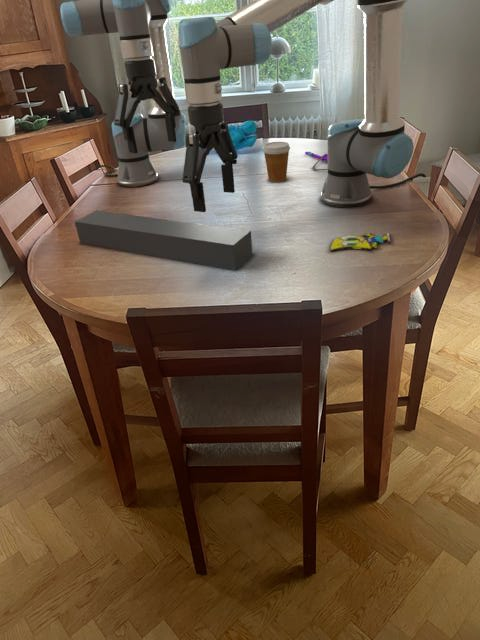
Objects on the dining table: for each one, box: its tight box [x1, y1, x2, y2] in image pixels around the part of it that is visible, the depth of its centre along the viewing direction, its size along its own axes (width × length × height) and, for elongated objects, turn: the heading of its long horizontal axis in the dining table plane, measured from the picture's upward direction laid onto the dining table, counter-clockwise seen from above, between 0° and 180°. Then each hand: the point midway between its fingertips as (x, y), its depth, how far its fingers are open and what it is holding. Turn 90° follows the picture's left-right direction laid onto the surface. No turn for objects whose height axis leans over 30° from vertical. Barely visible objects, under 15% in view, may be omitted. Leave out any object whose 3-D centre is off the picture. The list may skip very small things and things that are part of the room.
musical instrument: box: [304, 151, 328, 171], centre depth 185 cm, size 24×2×20 cm
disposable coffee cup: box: [262, 141, 291, 183], centre depth 169 cm, size 10×10×12 cm
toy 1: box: [199, 120, 258, 152], centre depth 209 cm, size 17×11×30 cm
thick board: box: [74, 209, 253, 271], centre depth 127 cm, size 51×9×7 cm, turn 62°
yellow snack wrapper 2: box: [330, 232, 391, 252], centre depth 122 cm, size 10×1×15 cm
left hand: (153, 146), depth 131 cm, fingers open, 13 cm apart
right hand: (215, 201), depth 113 cm, fingers open, 13 cm apart
